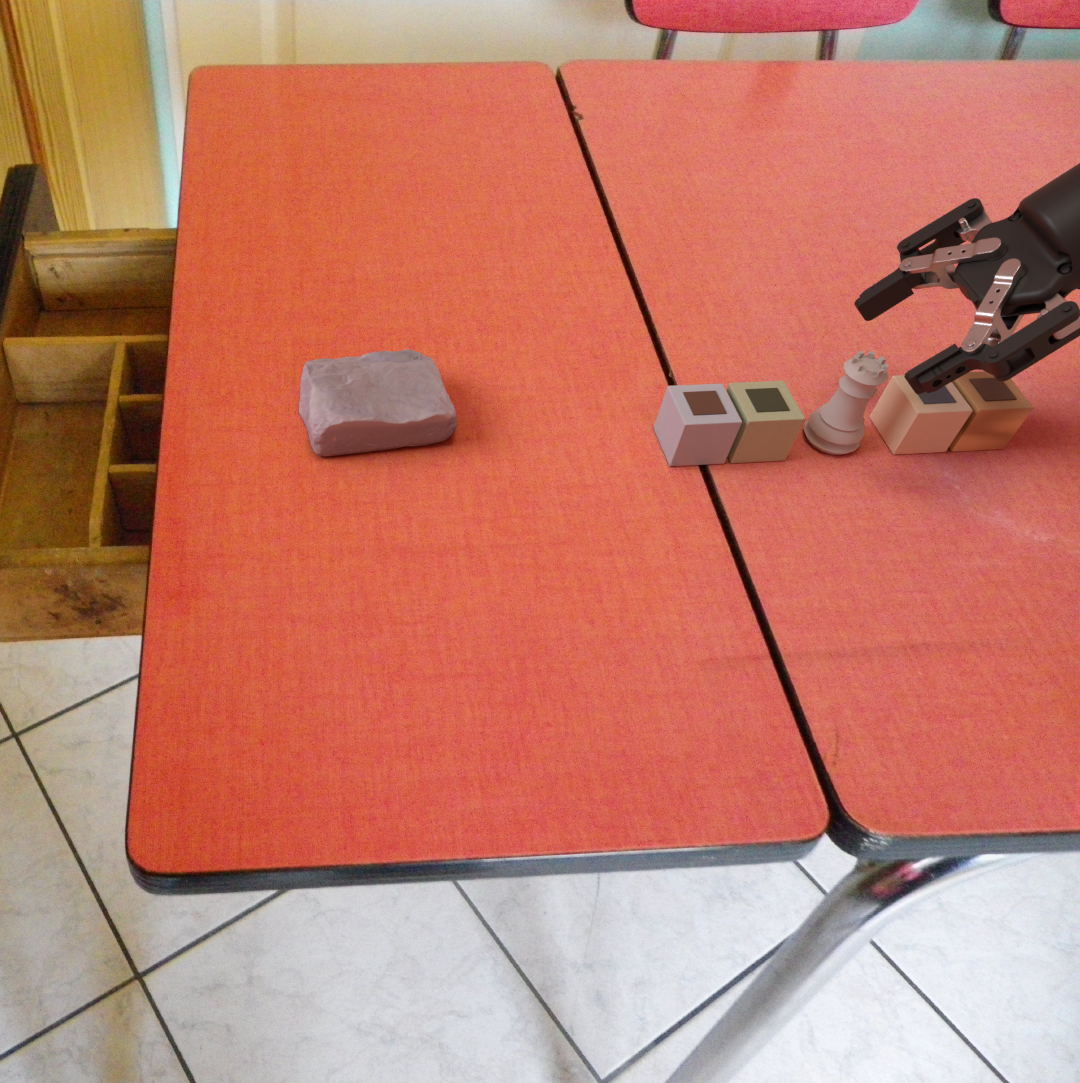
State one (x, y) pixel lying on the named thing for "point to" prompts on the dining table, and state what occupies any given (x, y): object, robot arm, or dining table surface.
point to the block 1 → (696, 424)
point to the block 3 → (919, 417)
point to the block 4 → (989, 412)
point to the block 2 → (764, 421)
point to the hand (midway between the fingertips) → (884, 347)
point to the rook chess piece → (847, 406)
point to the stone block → (374, 403)
